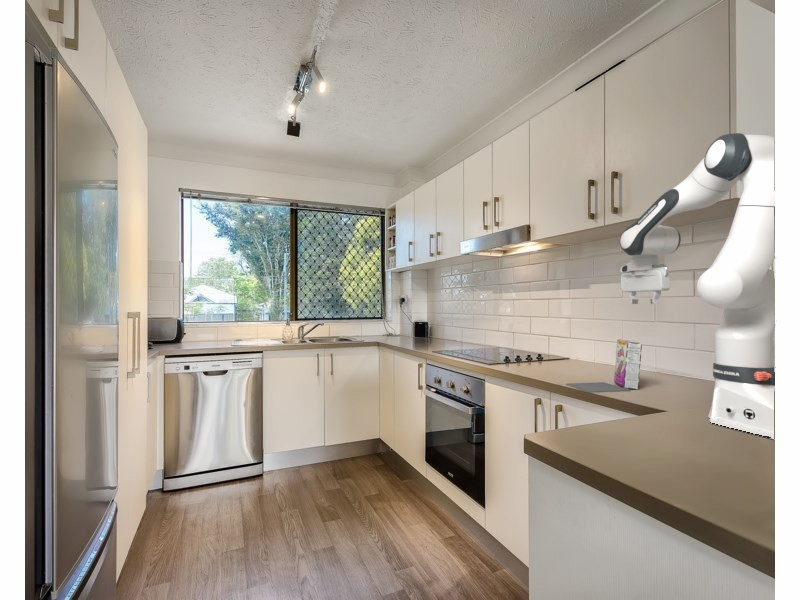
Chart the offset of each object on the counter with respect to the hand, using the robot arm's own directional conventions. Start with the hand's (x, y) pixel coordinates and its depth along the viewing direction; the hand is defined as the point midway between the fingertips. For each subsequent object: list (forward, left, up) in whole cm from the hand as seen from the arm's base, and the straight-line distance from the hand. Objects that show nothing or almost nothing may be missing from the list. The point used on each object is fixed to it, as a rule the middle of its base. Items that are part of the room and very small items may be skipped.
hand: (644, 304), depth 144 cm
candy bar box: (0, +8, -30) cm, 31 cm away
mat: (0, +19, -30) cm, 36 cm away
